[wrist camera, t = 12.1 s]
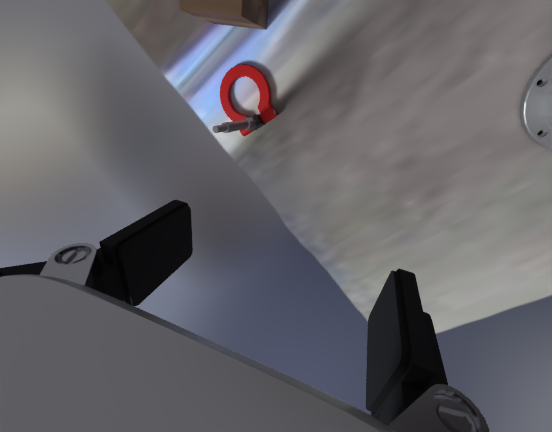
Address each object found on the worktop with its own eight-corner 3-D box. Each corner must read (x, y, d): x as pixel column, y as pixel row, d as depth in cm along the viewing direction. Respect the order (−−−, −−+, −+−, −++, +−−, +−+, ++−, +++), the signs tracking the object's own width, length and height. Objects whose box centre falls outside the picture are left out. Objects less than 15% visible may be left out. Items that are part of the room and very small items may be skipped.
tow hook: (214, 86, 40) (243, 138, 42) (152, 80, 29) (195, 152, 31) (254, 52, 36) (284, 112, 38) (200, 30, 25) (245, 117, 27)
